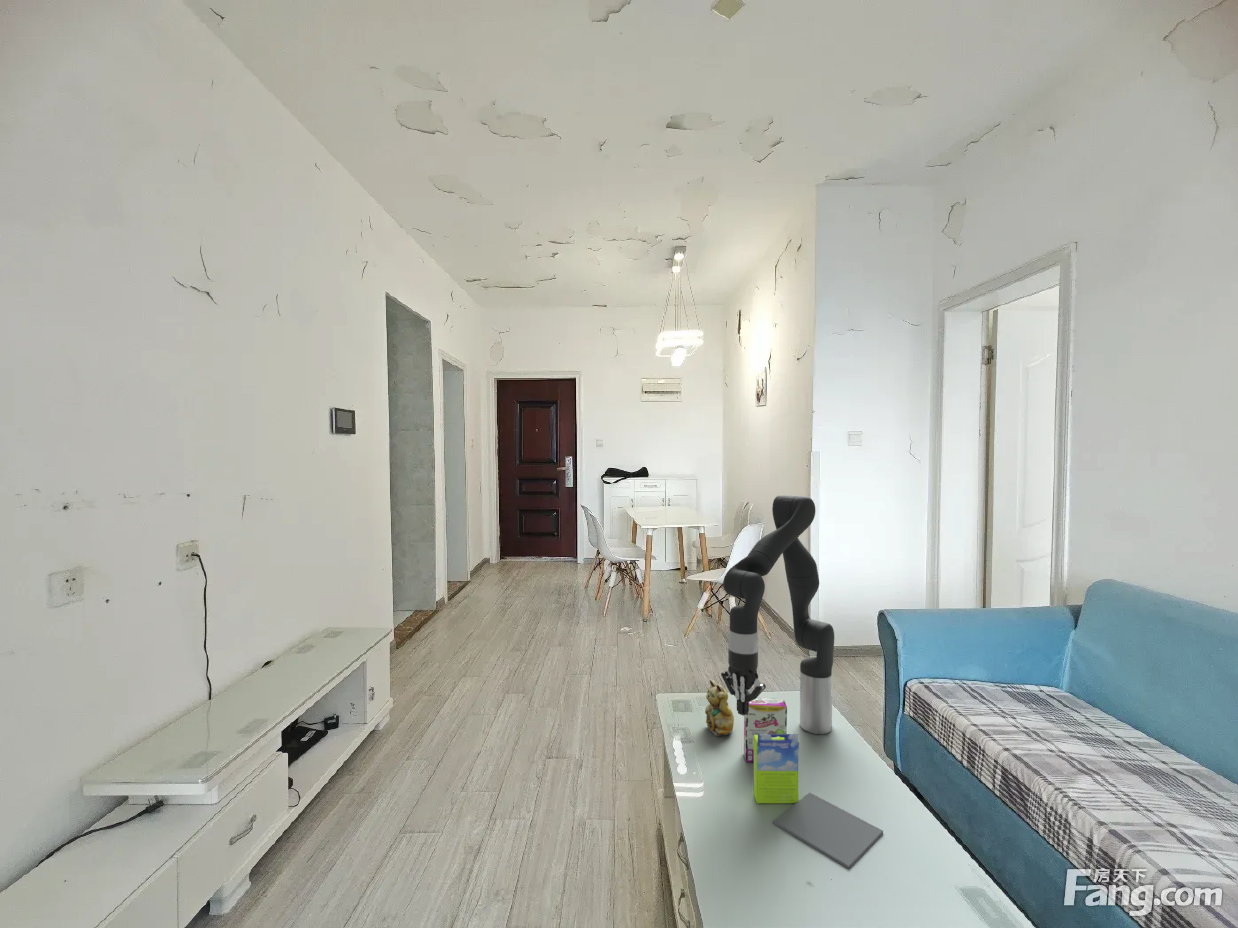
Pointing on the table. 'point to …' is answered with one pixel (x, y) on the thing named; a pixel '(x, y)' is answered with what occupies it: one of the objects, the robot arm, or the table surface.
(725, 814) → the table surface
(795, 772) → the box
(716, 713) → the decorative figurine
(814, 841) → the mat
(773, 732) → the candy bar box
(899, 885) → the table surface
